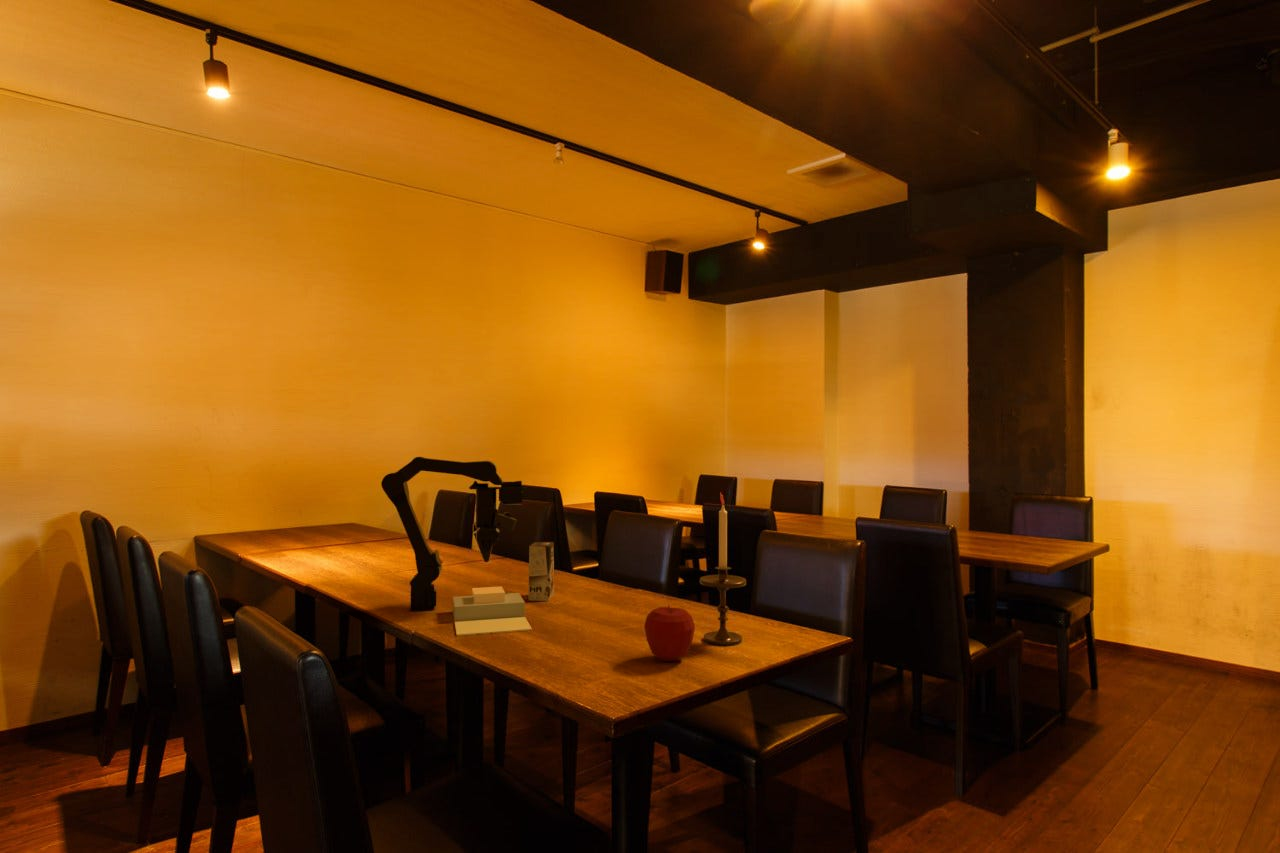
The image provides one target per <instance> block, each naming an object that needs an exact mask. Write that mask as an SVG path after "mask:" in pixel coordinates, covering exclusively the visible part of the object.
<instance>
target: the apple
mask: <svg viewBox="0 0 1280 853" xmlns="http://www.w3.org/2000/svg"><path fill="white" fill-rule="evenodd" d="M645 619H646V620H645V623H644V631H645V632H644V633H645V637H646V641H647V644H648V647H649V649H650V651H651V652H650V653H651V654H652V655H653V656H655V657H656V658H657V659H658V660H660V661H662V662H675V661H678V660H680V659H682V658H683V657H685V655H687V654H688V652H689V649H690V648H691V645H692V642H694V641H693V640H694V635H695V630H696V629H695V628H696V626H695V623H694V620H693V617H692V615H691V613H689V612H688V611H687V610H685V609H684V608H680V607H670V605H667V606H660V607H657V608H656V607H655V608H654V609H652V610H651V611H650V612H648V614H647V615H646V617H645Z"/></svg>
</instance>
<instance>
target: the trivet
mask: <svg viewBox="0 0 1280 853" xmlns="http://www.w3.org/2000/svg"><path fill="white" fill-rule="evenodd" d="M471 590H472V591H471V592H472V593H471V596H472V599H473V602H474V604H481V603H496V602H505V594H506V592H505V590H504V588H503V586H487V587H485V586H484V587H473V588H471Z"/></svg>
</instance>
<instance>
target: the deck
mask: <svg viewBox="0 0 1280 853" xmlns="http://www.w3.org/2000/svg"><path fill="white" fill-rule="evenodd" d="M525 605H526V602H525V600H524V599H523V597H522V595H521V594H520V593H519V592H513V593H512V592H511V593H510V592H509V593H505V602H496V603H481V604H474V602H473V599H472V595H463V596H461V595H459V596H452V615H453V620H454V623H455V622H461V621H475V620H489V619H504V618H518V617H526V616H525V614H526V612H525V610H526V607H525Z"/></svg>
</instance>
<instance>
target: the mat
mask: <svg viewBox="0 0 1280 853" xmlns="http://www.w3.org/2000/svg"><path fill="white" fill-rule="evenodd" d="M454 626H455V627H454V628H455V632H456V637H464V636H465V635H466V636H477V634H479V635H488V634H489V635H490V633H492V634H501V633H502V634H503V633H504V634H505V633H515V632H530V630H531V631H533V628H532V627H531V625H530V623H529V622H528V620H527V618H526V616H525V617H518V618H504V619H489V620H475V621H461V622H454ZM466 636H465V637H466Z"/></svg>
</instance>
